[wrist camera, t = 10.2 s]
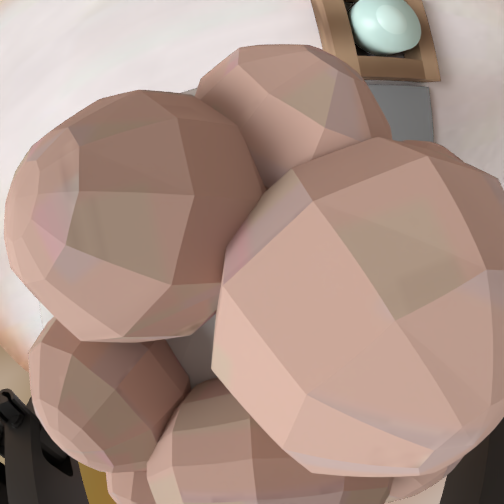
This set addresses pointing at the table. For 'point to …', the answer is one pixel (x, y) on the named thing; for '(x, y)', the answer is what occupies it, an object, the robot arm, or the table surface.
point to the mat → (406, 111)
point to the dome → (384, 26)
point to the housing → (374, 67)
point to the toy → (260, 290)
